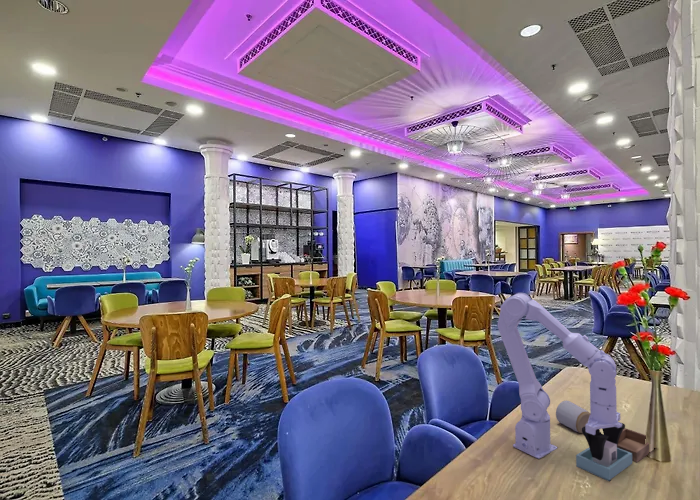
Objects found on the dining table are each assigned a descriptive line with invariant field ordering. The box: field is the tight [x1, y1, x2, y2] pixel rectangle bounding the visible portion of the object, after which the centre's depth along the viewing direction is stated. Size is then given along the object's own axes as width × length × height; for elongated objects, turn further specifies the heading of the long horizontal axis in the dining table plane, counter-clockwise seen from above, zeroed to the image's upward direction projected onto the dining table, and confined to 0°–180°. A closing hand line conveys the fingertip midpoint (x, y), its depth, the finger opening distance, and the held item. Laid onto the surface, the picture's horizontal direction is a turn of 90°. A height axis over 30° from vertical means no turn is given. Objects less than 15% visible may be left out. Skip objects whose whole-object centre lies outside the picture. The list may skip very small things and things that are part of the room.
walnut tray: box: [617, 427, 650, 463], centre depth 104 cm, size 13×8×3 cm, turn 122°
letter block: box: [593, 440, 617, 467], centre depth 97 cm, size 4×4×6 cm
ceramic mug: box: [555, 400, 590, 434], centre depth 117 cm, size 11×8×8 cm
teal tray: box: [575, 447, 633, 482], centre depth 97 cm, size 13×8×3 cm, turn 122°
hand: (604, 453), depth 97 cm, fingers open, 7 cm apart
